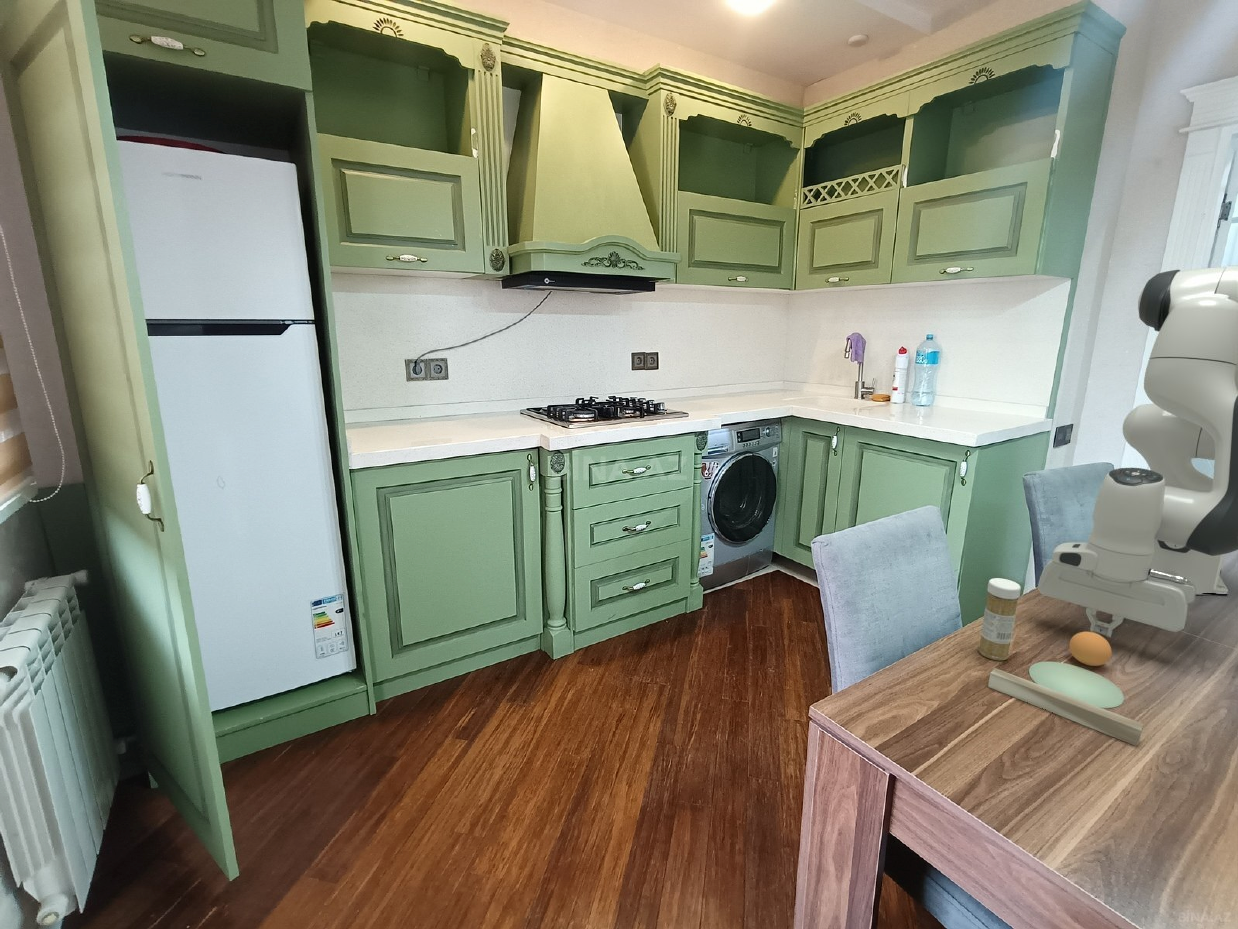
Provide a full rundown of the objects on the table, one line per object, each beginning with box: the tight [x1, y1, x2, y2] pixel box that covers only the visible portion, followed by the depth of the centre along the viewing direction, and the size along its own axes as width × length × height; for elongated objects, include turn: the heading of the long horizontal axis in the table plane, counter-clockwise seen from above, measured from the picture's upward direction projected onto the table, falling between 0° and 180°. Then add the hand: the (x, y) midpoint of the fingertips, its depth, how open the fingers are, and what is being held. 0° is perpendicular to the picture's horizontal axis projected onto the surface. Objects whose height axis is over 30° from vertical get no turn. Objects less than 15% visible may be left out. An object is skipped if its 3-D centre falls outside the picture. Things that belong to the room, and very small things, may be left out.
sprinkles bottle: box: [977, 577, 1022, 662], centre depth 100 cm, size 5×5×14 cm
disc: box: [1028, 661, 1125, 709], centre depth 93 cm, size 12×12×1 cm
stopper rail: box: [987, 667, 1144, 747], centre depth 86 cm, size 2×18×2 cm, turn 42°
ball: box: [1069, 631, 1112, 667], centre depth 98 cm, size 6×6×6 cm
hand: (1100, 633), depth 105 cm, fingers closed
